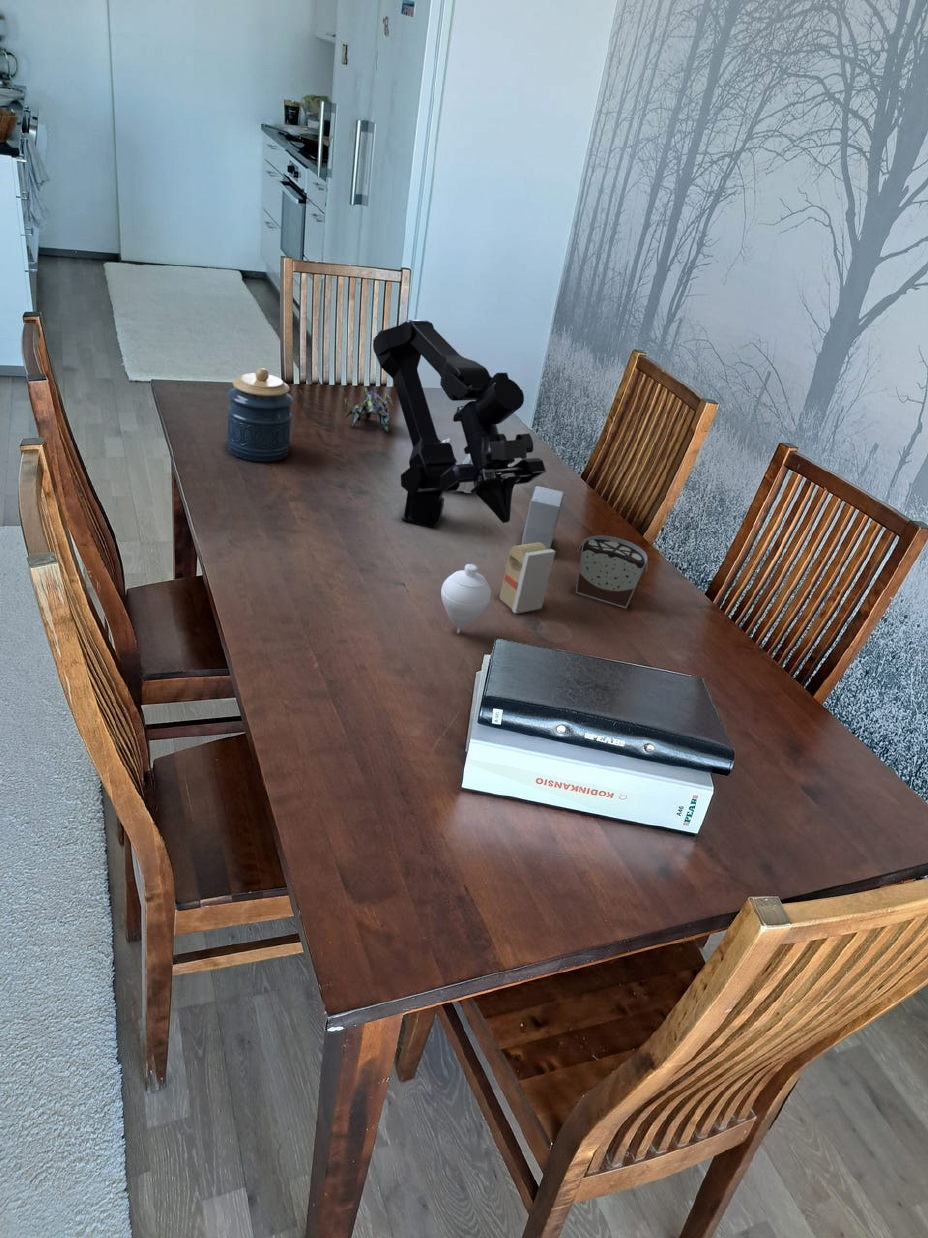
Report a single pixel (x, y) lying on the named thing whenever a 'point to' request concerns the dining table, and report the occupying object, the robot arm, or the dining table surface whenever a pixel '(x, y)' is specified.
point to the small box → (542, 516)
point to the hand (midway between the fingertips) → (506, 522)
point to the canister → (259, 417)
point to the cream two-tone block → (526, 577)
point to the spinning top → (465, 596)
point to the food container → (610, 569)
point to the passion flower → (372, 408)
